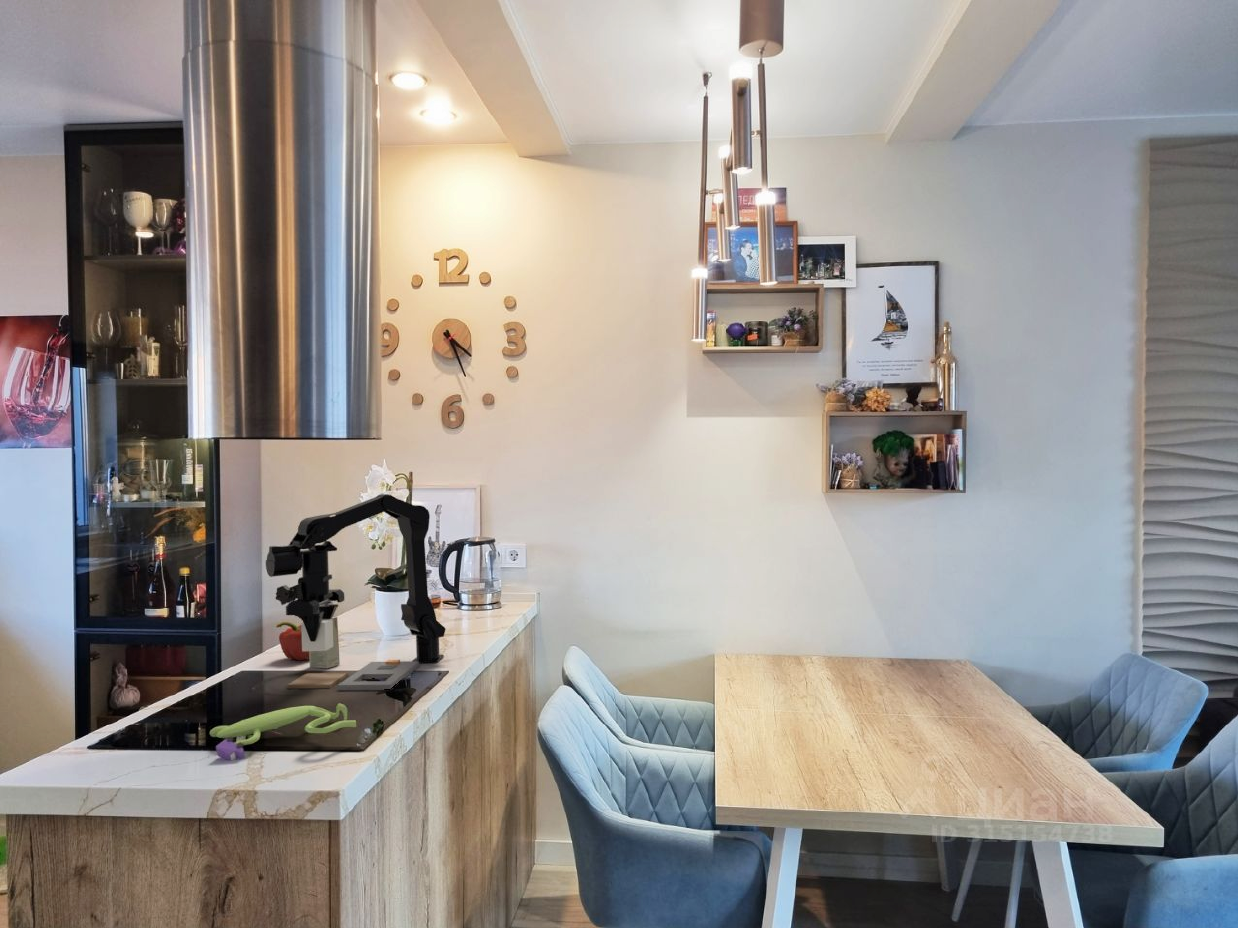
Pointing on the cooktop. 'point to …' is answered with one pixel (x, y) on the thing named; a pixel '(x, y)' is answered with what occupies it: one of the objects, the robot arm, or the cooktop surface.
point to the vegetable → (292, 642)
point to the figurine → (273, 727)
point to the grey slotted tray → (379, 675)
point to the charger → (319, 637)
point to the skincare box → (327, 652)
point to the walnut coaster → (318, 680)
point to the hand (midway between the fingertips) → (317, 638)
